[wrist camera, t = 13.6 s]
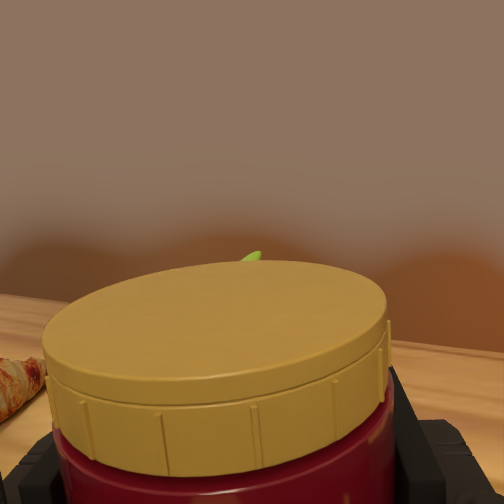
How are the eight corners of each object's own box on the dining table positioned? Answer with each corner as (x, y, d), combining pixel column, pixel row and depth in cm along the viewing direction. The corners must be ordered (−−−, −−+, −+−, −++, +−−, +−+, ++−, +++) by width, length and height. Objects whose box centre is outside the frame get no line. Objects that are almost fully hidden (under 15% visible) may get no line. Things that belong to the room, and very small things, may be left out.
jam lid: (53, 551, 6) (29, 434, 6) (55, 349, 13) (44, 290, 13) (471, 396, 9) (473, 311, 9) (290, 297, 16) (286, 248, 16)
